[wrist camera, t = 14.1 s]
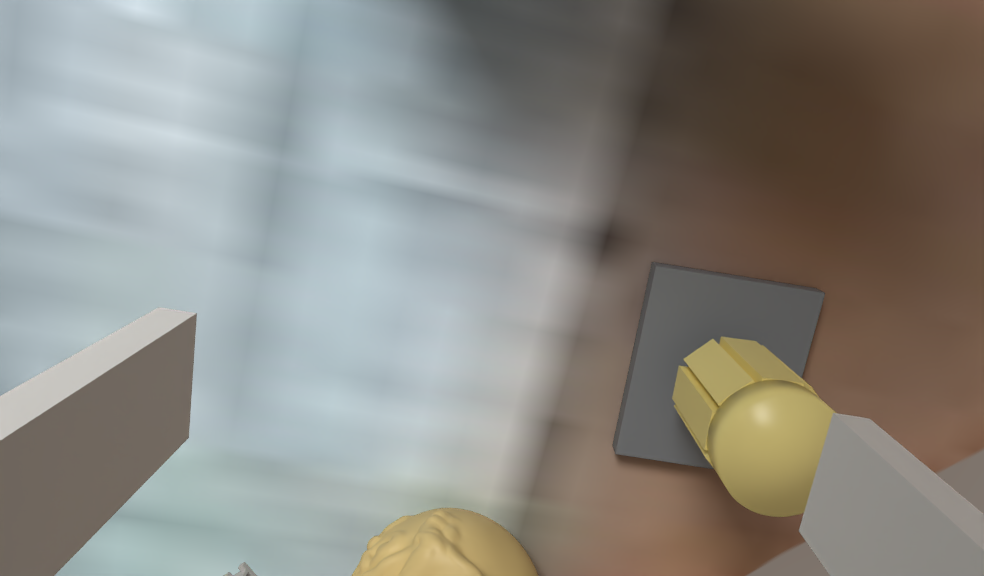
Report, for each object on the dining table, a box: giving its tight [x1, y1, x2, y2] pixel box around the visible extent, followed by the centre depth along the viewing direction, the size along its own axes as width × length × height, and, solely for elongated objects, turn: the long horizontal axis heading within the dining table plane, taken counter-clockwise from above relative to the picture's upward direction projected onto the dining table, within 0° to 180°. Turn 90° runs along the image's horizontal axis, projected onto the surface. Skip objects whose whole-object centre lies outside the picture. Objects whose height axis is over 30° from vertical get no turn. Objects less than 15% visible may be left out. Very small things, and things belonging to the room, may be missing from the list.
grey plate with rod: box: [613, 262, 825, 469], centre depth 40 cm, size 12×10×10 cm
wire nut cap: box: [672, 337, 836, 517], centre depth 37 cm, size 6×6×8 cm
